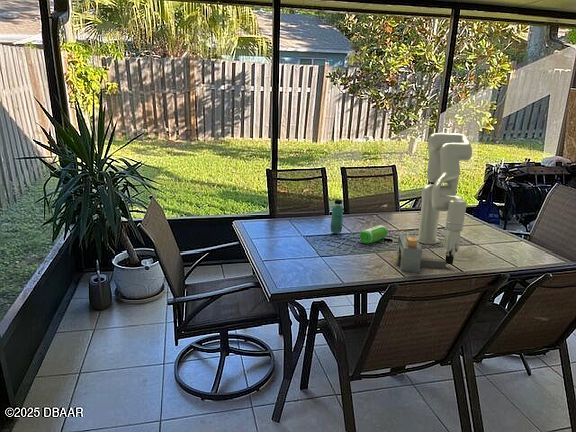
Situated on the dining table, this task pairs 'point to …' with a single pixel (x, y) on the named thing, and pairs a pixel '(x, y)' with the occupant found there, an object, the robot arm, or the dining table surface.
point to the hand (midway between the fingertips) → (448, 263)
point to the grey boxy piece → (409, 253)
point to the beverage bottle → (337, 217)
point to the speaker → (373, 234)
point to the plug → (425, 261)
